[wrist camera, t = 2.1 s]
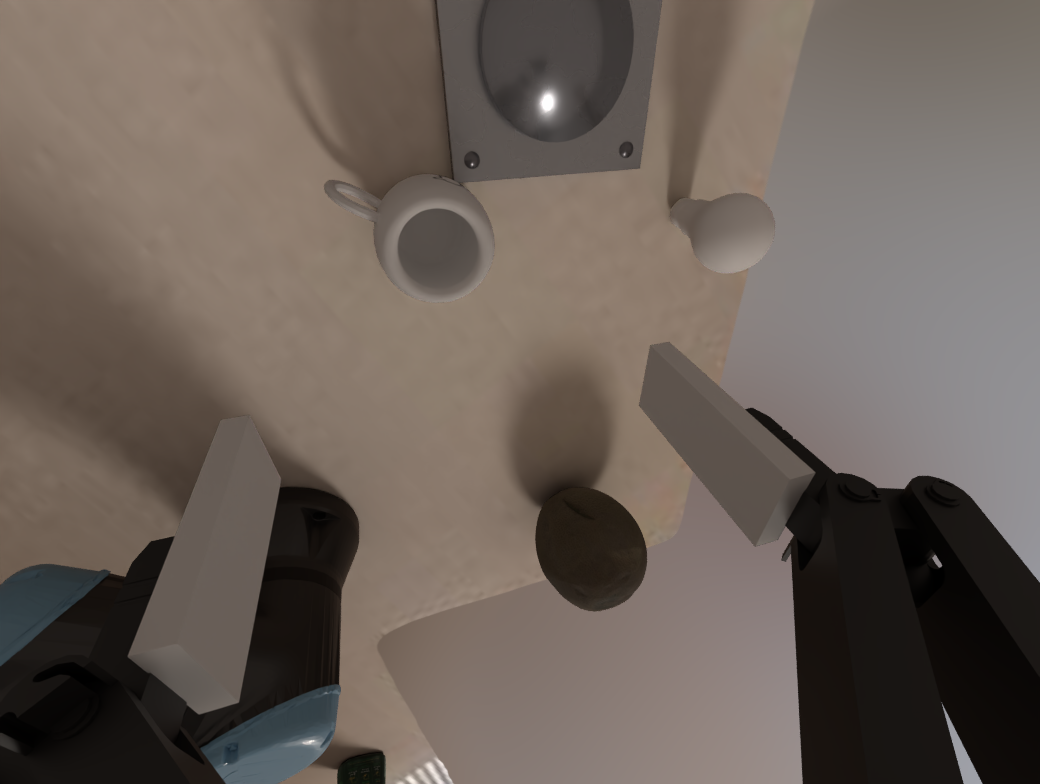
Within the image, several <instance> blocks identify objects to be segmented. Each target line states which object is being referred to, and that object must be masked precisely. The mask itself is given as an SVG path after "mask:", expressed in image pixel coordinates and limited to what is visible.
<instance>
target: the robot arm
mask: <svg viewBox="0 0 1040 784" xmlns="http://www.w3.org/2000/svg"><path fill="white" fill-rule="evenodd" d="M639 406H640V407H641V409H642V410H643V411H644V412H645V414H646V415H647V416H648V417H649V418H650V420H651V421H652V422H653V423H654V424H655V426H656V427H657V428H658V429H659V431H660V432H661V433H662V434H663V435H664V437H665V438H666V439H667V440H668V442H669V443H670V444H671V445H672V446H673V448H674V449H675V450H676V451H677V452H678V454H679V455H680V456H681V457H682V459H683V460H684V461H685V462H686V463H687V465H688V466H689V467H690V468H691V470H692V471H693V472H694V473H695V474H696V476H697V477H698V478H699V479H700V480H701V482H702V483H703V484H704V485H705V487H706V488H707V489H708V490H709V491H710V493H711V494H712V495H713V496H714V497H715V499H716V500H717V501H718V502H719V503H720V505H721V506H722V507H723V508H724V510H725V511H726V512H727V513H728V515H729V516H730V517H731V518H732V519H733V521H734V522H735V523H736V524H737V525H738V527H739V528H740V529H741V530H742V531H743V533H744V534H745V535H746V536H747V538H748V539H749V540H750V541H751V543H752V544H753V545H754V546H755V547H756V546H760V545H763V544H766V543H770V542H773V541H776V540H778V539H779V537H780V535H781V534H782V532H783V530H784V528H785V526H786V527H787V528H788V529H789V530H790V531H791V532H792V533H793V535H794V536H793V538H792V539H791V541H790V543H789V544H788V546H787V548H786V550H785V551H784V553H783V556H782V561H785V562H786V560H787V559H788V557H789V555H790V554H791V560H792V580H793V600H794V620H795V640H796V659H797V678H798V699H799V718H800V738H801V758H802V777H803V784H964V783H963V780H962V776H961V773H960V769H959V765H958V761H957V758H956V754H955V750H954V747H953V743H952V740H951V736H950V732H949V728H948V725H947V721H946V718H945V714H944V710H943V707H942V704H943V706H944V708H945V710H946V712H947V714H948V716H949V718H950V720H951V722H952V724H953V726H954V728H955V730H956V732H957V734H958V736H959V738H960V740H961V741H962V744H963V746H964V748H965V750H966V752H967V754H968V756H969V758H970V760H971V762H972V763H973V765H974V768H975V770H976V772H977V774H978V776H979V777H980V779H981V782H982V783H983V784H1040V582H1039V581H1038V580H1037V579H1036V577H1035V576H1034V575H1033V574H1032V573H1031V571H1030V570H1029V569H1028V568H1027V566H1026V565H1025V564H1024V563H1023V561H1022V560H1021V559H1020V558H1019V556H1018V555H1017V554H1016V553H1015V551H1014V550H1013V549H1012V548H1011V546H1010V545H1009V544H1008V543H1007V542H1006V540H1005V539H1004V538H1003V536H1002V535H1001V534H1000V533H999V532H998V530H997V529H996V528H995V527H994V525H993V524H992V523H991V522H990V520H989V519H988V518H987V517H986V516H985V514H984V513H983V512H982V510H981V509H980V508H979V507H978V505H977V504H976V503H975V502H974V501H973V499H972V498H971V497H970V496H969V495H967V494H966V493H965V492H964V491H963V490H962V489H960V488H959V487H957V486H955V485H954V484H952V483H950V482H947V481H945V480H942V479H940V478H936V477H931V476H917V477H915V478H913V479H912V480H911V481H910V482H909V484H908V485H907V486H906V488H905V489H889V488H888V489H887V488H877V487H875V485H873V484H872V483H870V482H868V481H867V480H865V479H863V478H860V477H858V476H855V475H852V474H844V473H838V474H836V473H835V472H833V471H832V470H831V469H830V468H829V467H827V466H826V465H825V464H824V463H823V462H822V461H821V460H819V459H818V458H817V457H816V456H815V455H814V454H812V453H811V452H810V451H809V450H808V449H807V448H805V447H804V446H803V445H802V444H801V443H800V442H798V441H797V440H796V439H793V437H792V436H791V435H790V434H789V433H788V432H787V431H785V430H783V429H782V427H781V426H780V425H778V424H777V423H776V422H775V421H774V420H773V419H772V418H770V417H769V416H767V415H765V414H763V413H761V412H760V411H757V410H756V409H754V408H749V409H744V408H743V407H742V406H740V405H739V404H738V403H737V402H736V401H735V400H734V399H733V398H731V397H730V396H729V395H728V394H727V393H726V392H725V391H724V390H723V389H721V388H720V387H719V386H718V385H717V384H716V383H715V382H714V381H712V380H711V379H710V378H709V377H708V376H707V375H706V374H705V373H703V372H702V371H701V370H700V369H699V368H698V367H697V366H696V365H695V364H693V363H692V362H691V361H690V360H689V359H688V358H687V357H686V356H684V355H683V354H682V353H681V352H680V351H679V350H678V349H677V348H675V347H674V346H673V345H672V344H671V343H670V342H666V343H660V344H654V345H650V349H649V354H648V360H647V365H646V370H645V376H644V381H643V386H642V392H641V397H640V402H639ZM280 483H281V477H280V475H279V473H278V471H277V469H276V467H275V465H274V463H273V461H272V459H271V457H270V455H269V453H268V451H267V449H266V447H265V445H264V443H263V441H262V439H261V437H260V435H259V433H258V431H257V429H256V427H255V425H254V423H253V421H252V419H251V417H250V415H246V416H240V417H234V418H229V419H223V420H220V423H219V425H218V428H217V431H216V433H215V436H214V438H213V441H212V443H211V446H210V448H209V451H208V453H207V456H206V458H205V461H204V464H203V466H202V469H201V471H200V474H199V476H198V479H197V481H196V484H195V486H194V489H193V492H192V494H191V497H190V499H189V502H188V504H187V507H186V509H185V512H184V514H183V517H182V519H181V522H180V525H179V527H178V530H177V532H176V535H175V536H173V537H169V538H164V539H160V540H155V541H151V542H150V543H149V544H148V545H147V546H146V548H145V549H144V550H143V551H142V552H141V553H140V554H139V556H138V557H137V558H136V559H135V560H134V561H133V562H132V564H131V566H130V568H129V571H128V573H127V575H126V577H124V576H119V575H115V574H110V572H111V571H108V570H101V571H94V570H87V569H81V568H74V567H68V566H61V565H55V564H40V565H34V566H31V567H28V568H25V569H22V570H20V571H18V572H16V573H15V574H13V575H12V576H10V577H9V578H7V579H6V580H5V581H4V582H3V583H2V584H1V585H0V784H277V783H280V782H282V781H284V780H286V779H287V778H289V777H291V776H293V775H295V774H297V773H298V772H300V771H301V770H303V769H305V768H306V767H307V766H309V765H310V764H311V763H313V762H314V761H315V760H316V759H318V758H319V757H320V756H321V755H322V754H323V752H324V751H325V750H326V749H327V747H328V746H329V744H330V742H331V740H332V738H333V736H334V732H335V727H336V718H337V709H338V700H339V695H340V692H341V687H340V685H339V668H340V631H341V594H342V587H343V585H344V582H345V580H346V577H347V575H348V572H349V570H350V567H351V565H352V562H353V560H354V557H355V554H356V552H357V549H358V544H359V522H358V518H357V516H356V514H355V512H354V511H353V509H352V508H351V507H350V506H349V505H348V504H346V503H345V502H344V501H342V500H341V499H339V498H337V497H335V496H333V495H331V494H328V493H325V492H322V491H318V490H313V489H307V488H280ZM935 554H936V556H937V558H938V559H939V561H940V562H941V564H942V567H940V568H939V567H938V566H937V565H936V564H935V562H934V560H933V559H932V557H933V556H934V555H935ZM941 702H942V703H941Z"/></svg>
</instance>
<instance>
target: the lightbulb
mask: <svg viewBox="0 0 1040 784" xmlns="http://www.w3.org/2000/svg"><path fill="white" fill-rule="evenodd" d="M670 220H671V222H672V223H673V224H674V225H675V226H676V227H678V228H680V229H681V231H682V232H683V234H685V235H687V236H688V237H689V238H690V240H691V245H692V248H693V251H694V254H695V256H696V258H697V259H698V260H699V261H700V262H701V264H702V265H703V266H705V267H707V268H708V269H710V270H712V271H715V272H719V273H735V272H740V271H743V270H745V269H748V268H749V267H751V266H752V265H754V264H756V263H757V262H758V261H760V260H761V259H762V258H763V257H764V255H765V254H766V253H767V251H768V250H769V248H770V246H771V244H772V242H773V239H774V234H775V221H774V217H773V214H772V211H771V210H770V208H769V207H768V206H767V204H765V202H763V201H762V200H761V199H759V198H758V197H756V196H753V195H750V194H747V193H733V194H728V195H725V196H722V197H720V198H717V199H715V200H713V201H706V200H701V199H699V200H694V199H690V198H682V199H679V200H678V201H677V202H676V203H675V204H674V205H673V207H672V208H671V211H670Z"/></svg>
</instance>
